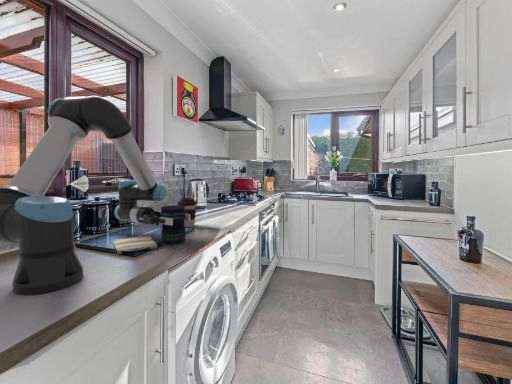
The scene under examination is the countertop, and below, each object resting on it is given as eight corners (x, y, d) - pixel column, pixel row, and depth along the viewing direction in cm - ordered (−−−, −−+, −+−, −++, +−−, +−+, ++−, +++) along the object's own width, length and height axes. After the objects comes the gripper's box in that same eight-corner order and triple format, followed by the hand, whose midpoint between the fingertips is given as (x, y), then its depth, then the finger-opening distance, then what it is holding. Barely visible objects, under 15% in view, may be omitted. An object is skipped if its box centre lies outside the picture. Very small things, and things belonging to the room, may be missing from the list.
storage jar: (178, 245, 104) (177, 209, 102) (156, 244, 106) (155, 208, 104) (189, 239, 114) (189, 205, 112) (169, 237, 116) (168, 205, 114)
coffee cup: (174, 227, 135) (173, 199, 134) (184, 223, 145) (184, 197, 143) (190, 229, 133) (190, 200, 131) (200, 225, 142) (200, 198, 141)
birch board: (157, 247, 101) (157, 244, 101) (117, 254, 93) (117, 250, 93) (148, 238, 114) (148, 235, 114) (112, 243, 106) (112, 240, 106)
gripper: (162, 218, 127) (198, 223, 117) (121, 228, 107) (160, 234, 97) (161, 203, 126) (198, 207, 117) (120, 210, 106) (160, 215, 97)
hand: (181, 219), depth 107 cm, fingers closed on storage jar, 10 cm apart
